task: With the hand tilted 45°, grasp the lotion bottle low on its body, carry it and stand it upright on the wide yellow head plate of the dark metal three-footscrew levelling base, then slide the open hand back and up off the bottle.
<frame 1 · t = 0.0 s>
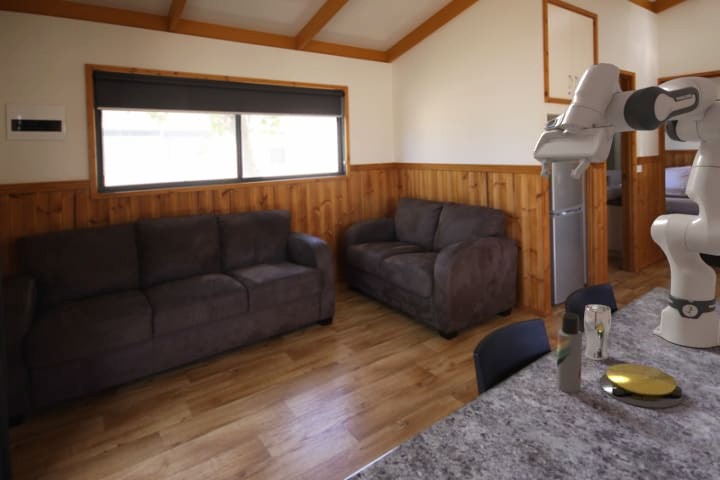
hand: (558, 177, 113), 54 cm above the table, tool tilted 30°, fingers open, 8 cm apart
levelling base: (639, 389, 117), on the table
lotion bottle: (568, 388, 120), on the table
beer glass: (595, 356, 137), on the table
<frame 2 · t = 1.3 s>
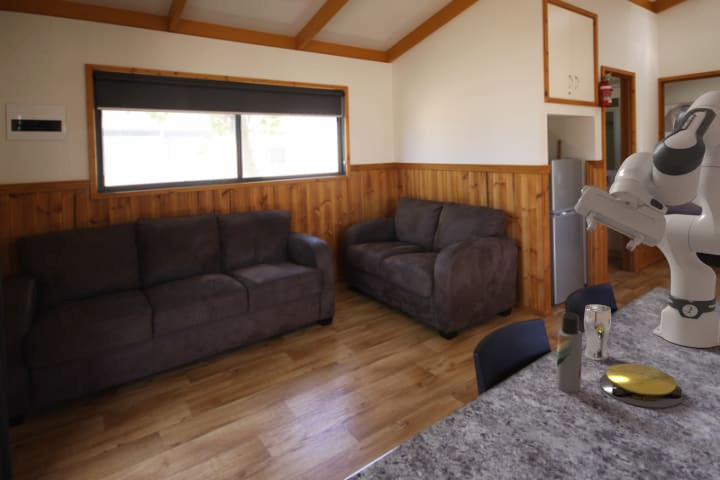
hand: (610, 239, 109), 40 cm above the table, tool tilted 55°, fingers open, 8 cm apart
nothing on the table moved.
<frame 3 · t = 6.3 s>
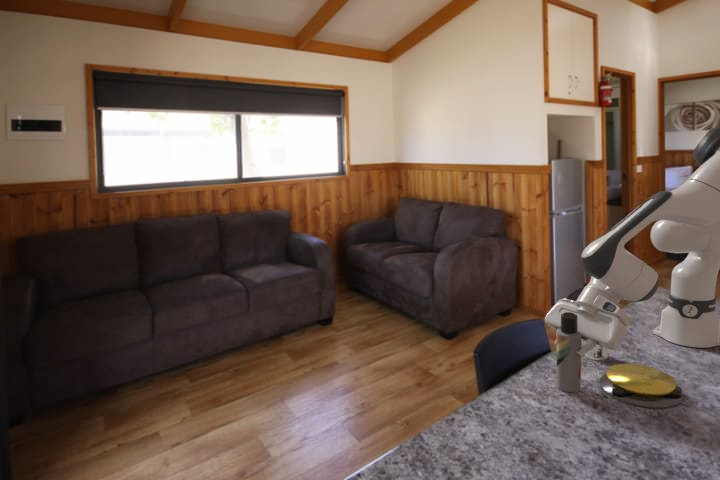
hand: (567, 350, 118), 10 cm above the table, tool tilted 45°, fingers closed on lotion bottle, 5 cm apart
lotion bottle: (568, 388, 120), on the table, touching gripper
everything else where it was.
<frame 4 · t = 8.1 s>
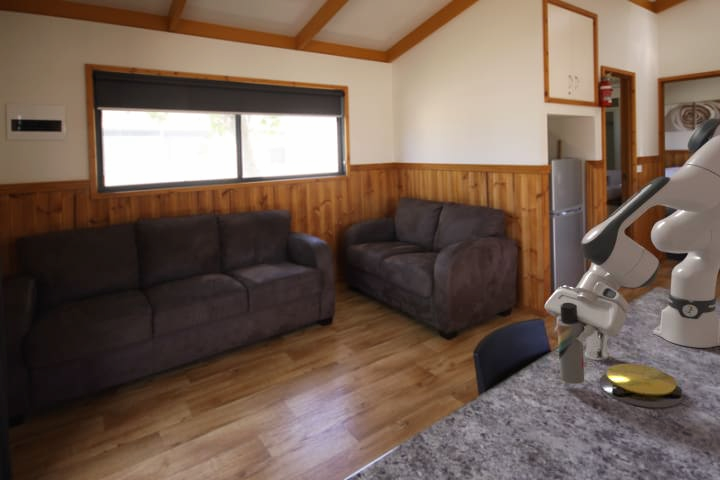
hand: (567, 337, 118), 14 cm above the table, tool tilted 45°, fingers closed on lotion bottle, 5 cm apart
lotion bottle: (572, 380, 119), point 2 cm above the table, touching gripper
everything else where it was.
when the fingers open (16 cm above the table, at t = 12.5 s): lotion bottle moves 3 cm, resting on levelling base.
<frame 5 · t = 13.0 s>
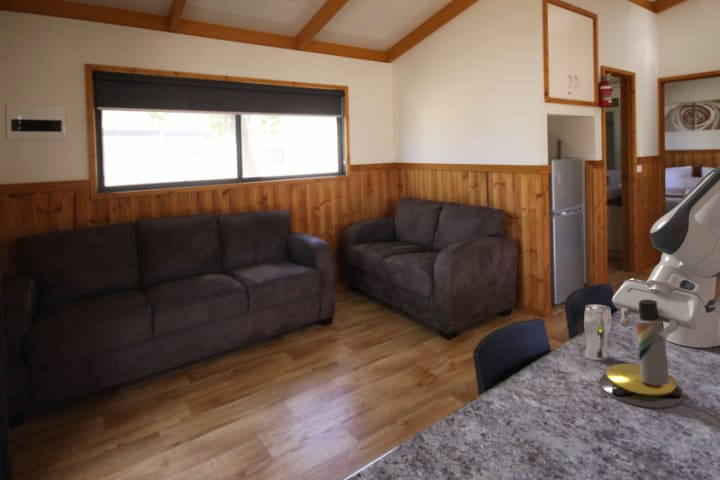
hand: (641, 330, 114), 16 cm above the table, tool tilted 45°, fingers open, 8 cm apart
lotion bottle: (655, 382, 113), point 4 cm above the table, touching gripper, levelling base
everything else where it was.
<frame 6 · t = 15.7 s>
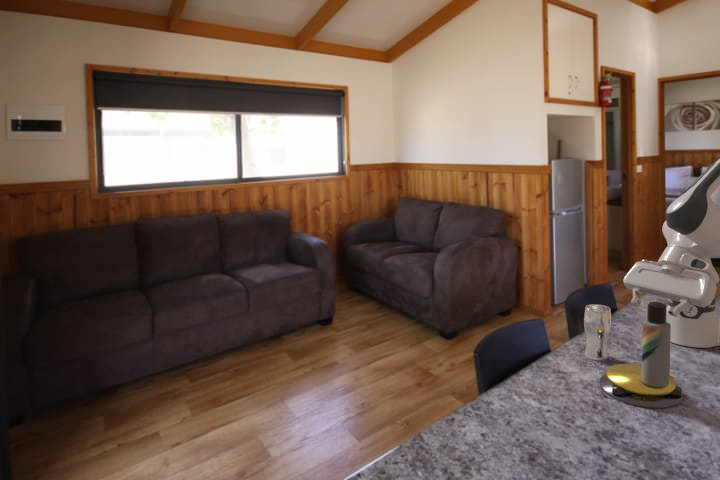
hand: (652, 309, 116), 20 cm above the table, tool tilted 45°, fingers open, 8 cm apart
lotion bottle: (655, 383, 113), point 3 cm above the table, touching levelling base
everything else where it was.
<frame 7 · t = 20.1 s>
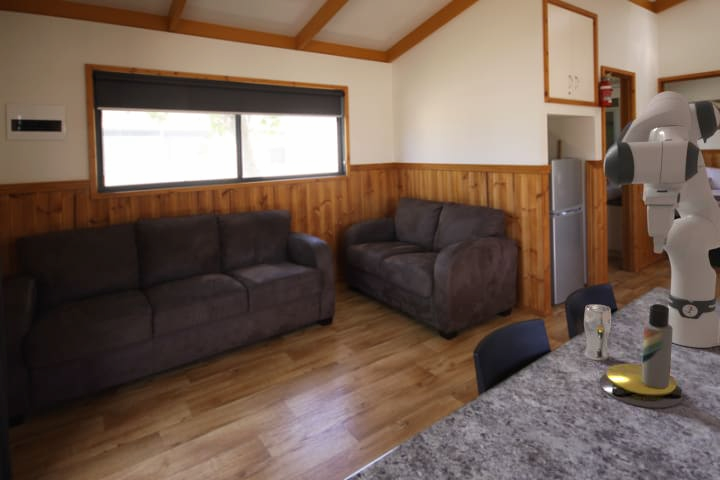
hand: (660, 248, 116), 35 cm above the table, tool pointing down, fingers open, 8 cm apart
at the end: lotion bottle inside the target area on the levelling base (3.9 cm from its centre), point 3.3 cm above the levelling base's base; lotion bottle tilted 1°; the gripper is holding nothing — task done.
